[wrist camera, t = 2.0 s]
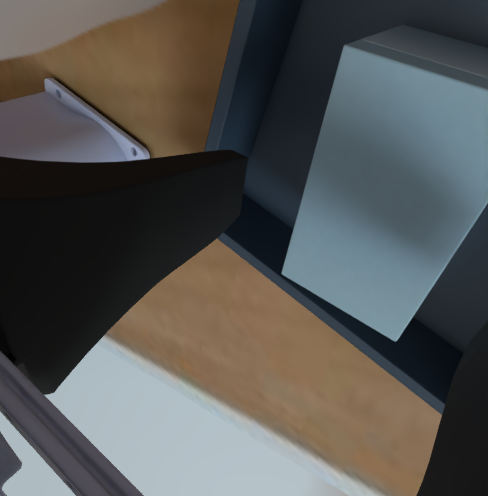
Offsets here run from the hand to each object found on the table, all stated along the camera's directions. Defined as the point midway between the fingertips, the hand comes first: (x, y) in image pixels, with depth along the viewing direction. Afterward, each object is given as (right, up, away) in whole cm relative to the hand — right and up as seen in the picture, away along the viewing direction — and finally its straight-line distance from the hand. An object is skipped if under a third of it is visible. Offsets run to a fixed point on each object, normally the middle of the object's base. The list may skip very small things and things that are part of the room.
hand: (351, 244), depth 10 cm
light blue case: (+3, +3, +4) cm, 6 cm away
